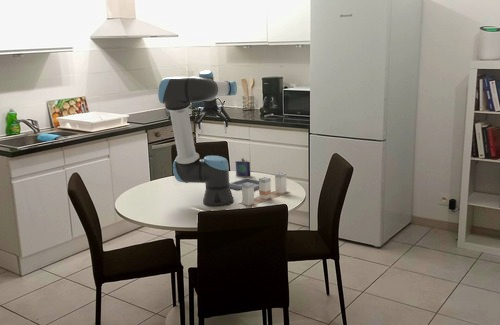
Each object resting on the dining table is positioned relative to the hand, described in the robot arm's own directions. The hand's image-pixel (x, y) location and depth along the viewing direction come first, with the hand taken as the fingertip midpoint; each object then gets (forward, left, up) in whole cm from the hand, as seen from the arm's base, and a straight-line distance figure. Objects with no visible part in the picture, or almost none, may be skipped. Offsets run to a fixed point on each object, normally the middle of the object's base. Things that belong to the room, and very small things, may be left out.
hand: (214, 133), depth 290 cm
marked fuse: (-12, -50, -26) cm, 57 cm away
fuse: (-24, -50, -26) cm, 61 cm away
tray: (-2, -28, -27) cm, 39 cm away
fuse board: (-12, -50, -27) cm, 58 cm away
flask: (+14, -8, -27) cm, 32 cm away
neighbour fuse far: (0, -50, -26) cm, 56 cm away
